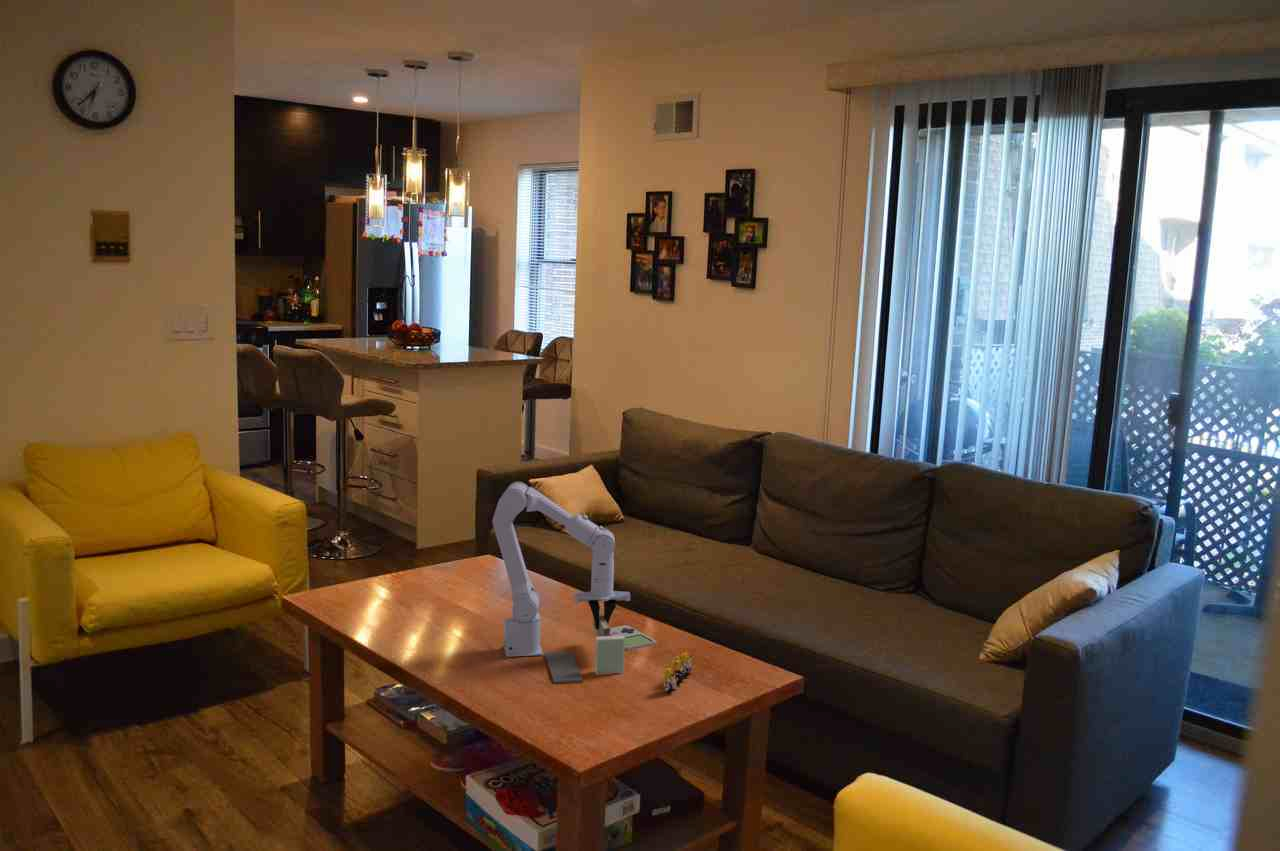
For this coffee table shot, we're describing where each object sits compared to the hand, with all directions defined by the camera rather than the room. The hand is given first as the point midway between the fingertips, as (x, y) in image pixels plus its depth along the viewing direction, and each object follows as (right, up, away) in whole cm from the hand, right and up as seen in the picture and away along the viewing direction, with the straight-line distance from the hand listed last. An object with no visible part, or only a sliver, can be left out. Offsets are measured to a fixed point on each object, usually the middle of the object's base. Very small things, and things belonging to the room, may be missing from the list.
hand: (601, 627), depth 270 cm
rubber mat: (-9, -8, -10) cm, 16 cm away
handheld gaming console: (+7, -6, +13) cm, 16 cm away
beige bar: (0, -2, 0) cm, 2 cm away
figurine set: (+19, -11, -17) cm, 28 cm away
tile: (+2, -9, -12) cm, 15 cm away
